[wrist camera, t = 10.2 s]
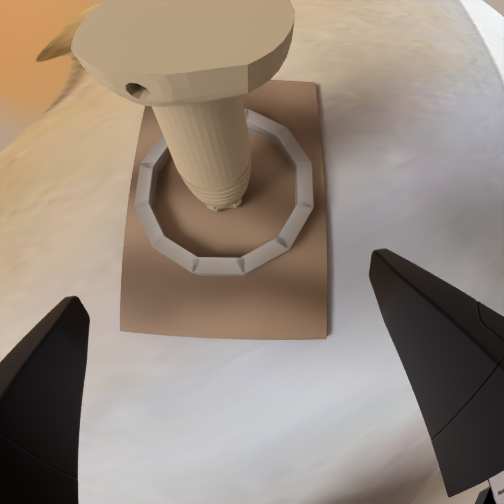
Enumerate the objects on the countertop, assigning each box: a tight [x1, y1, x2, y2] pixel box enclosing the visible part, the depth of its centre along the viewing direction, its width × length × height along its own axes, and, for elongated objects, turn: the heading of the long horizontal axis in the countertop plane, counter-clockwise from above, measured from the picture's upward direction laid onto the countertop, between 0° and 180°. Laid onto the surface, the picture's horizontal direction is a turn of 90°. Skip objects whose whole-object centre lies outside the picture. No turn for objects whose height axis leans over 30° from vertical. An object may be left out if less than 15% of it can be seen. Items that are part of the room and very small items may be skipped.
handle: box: [71, 0, 295, 212], centre depth 14 cm, size 5×6×15 cm
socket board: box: [120, 80, 327, 340], centre depth 21 cm, size 20×14×2 cm
